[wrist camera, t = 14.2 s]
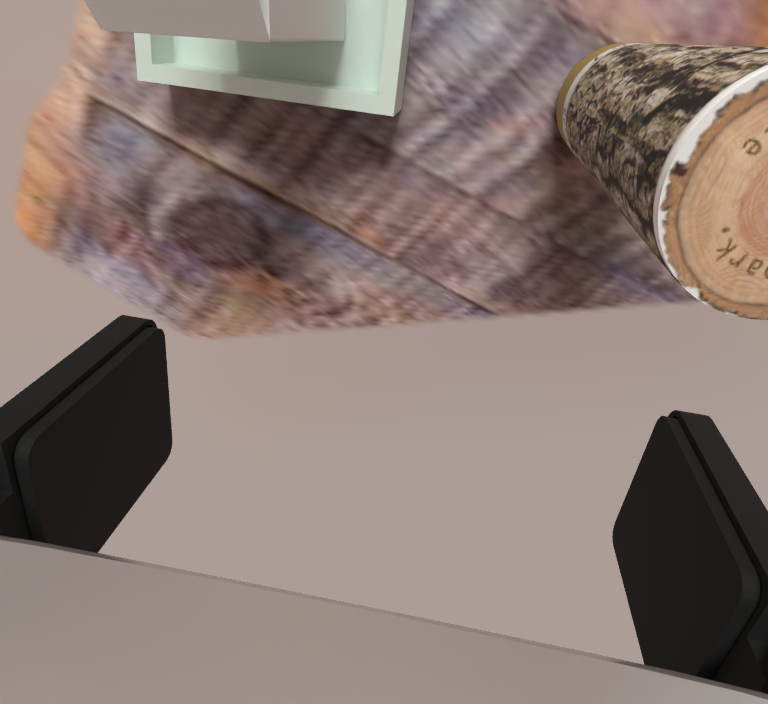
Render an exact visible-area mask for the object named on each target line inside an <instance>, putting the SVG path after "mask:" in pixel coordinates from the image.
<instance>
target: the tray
mask: <svg viewBox="0 0 768 704" xmlns="http://www.w3.org/2000/svg"><path fill="white" fill-rule="evenodd" d="M413 8H414V0H346V5H345V38H344V40H343V41H301V42H252V41H238V40H224V39H211V38H198V37H184V36H171V35H158V34H144V33H134V39H135V52H136V65H137V78H138V80H141V81H148V82H155V83H162V84H169V85H176V86H183V87H190V88H197V89H204V90H211V91H218V92H225V93H232V94H239V95H246V96H253V97H260V98H267V99H274V100H281V101H288V102H295V103H302V104H309V105H316V106H323V107H330V108H337V109H344V110H351V111H358V112H366V113H373V114H380V115H387V116H395V115H396V114H397V113H398V112H399V111H400V110H401V108H402V100H403V91H404V83H405V75H406V66H407V58H408V50H409V41H410V33H411V25H412V17H413Z"/></svg>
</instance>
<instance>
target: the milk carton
mask: <svg viewBox="0 0 768 704" xmlns="http://www.w3.org/2000/svg"><path fill="white" fill-rule="evenodd" d="M85 2H86V4H87V6H88V7H89V9H90V11H91V13H92V14H93V16H94V18H95V20H96V22H97V23H98V25H99V27H100V28H101V29H103V30H109V31H118V32H131V33H144V34H158V35H171V36H184V37H198V38H211V39H224V40H238V41H252V42H301V41H343V40H344V38H345V5H346V0H85Z"/></svg>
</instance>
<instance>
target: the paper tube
mask: <svg viewBox="0 0 768 704" xmlns="http://www.w3.org/2000/svg"><path fill="white" fill-rule="evenodd" d="M556 117H557V124H558V128H559V131H560V134H561V136H562V138H563V140H564V141H565V143H566V144H567V145H568V147H569V148H570V149H571V151H572V152H573V153H574V155H576V157H577V158H578V160H579V161H580V162H581V163H582V165H583V166H584V167H585V168H586V170H587V171H588V172H589V173H590V175H591V176H592V177H593V178H594V179H595V181H596V182H597V183H598V184H599V186H600V187H601V188H602V189H603V191H604V192H605V193H606V194H607V196H608V197H609V198H610V199H611V200H612V202H613V203H614V204H615V205H616V207H617V208H618V209H619V210H620V212H621V213H622V214H623V215H624V217H625V218H626V219H627V220H628V222H629V223H630V224H631V225H632V226H633V228H634V229H635V230H636V231H637V233H638V234H639V235H640V236H641V238H642V239H643V240H644V241H645V243H646V244H647V245H648V246H649V247H650V249H651V250H652V251H653V252H654V254H655V255H656V256H657V257H658V259H659V260H660V261H661V262H662V264H663V265H664V266H665V267H666V268H667V270H668V271H669V272H670V273H671V275H672V276H673V277H674V278H675V279H676V280H677V281H678V282H679V284H681V285H682V286H683V287H684V288H685V289H686V290H687V291H688V292H689V293H690V294H692V295H693V296H694V297H695V298H697V299H698V300H700V301H701V302H703V303H704V304H706V305H708V306H710V307H712V308H714V309H716V310H719V311H721V312H724V313H727V314H730V315H734V316H738V317H744V318H749V319H760V320H768V47H748V46H713V45H678V44H644V43H633V44H627V43H621V44H613V45H608V46H605V47H602V48H600V49H597V50H595V51H594V52H592V53H590V54H589V55H587V56H586V57H584V58H583V59H582V60H581V61H580V62H579V63H578V64H577V65H576V66H575V67H574V68H573V69H572V70H571V72H570V73H569V74H568V76H567V78H566V79H565V81H564V83H563V85H562V87H561V90H560V93H559V96H558V100H557V107H556Z"/></svg>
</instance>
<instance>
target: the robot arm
mask: <svg viewBox="0 0 768 704" xmlns="http://www.w3.org/2000/svg"><path fill="white" fill-rule="evenodd" d="M171 448H172V430H171V418H170V403H169V388H168V375H167V360H166V347H165V335H164V332H163V330H161V329H158V328H157V326H156V324H155V322H154V321H153V320H148V319H143V318H137V317H132V316H126V315H122V316H120V317H118V318H117V319H115V320H114V321H113V322H111V323H110V324H109V325H108V326H106V327H105V328H104V329H102V330H101V331H100V332H98V333H97V334H96V335H95V336H93V337H92V338H90V339H89V340H88V341H87V342H85V343H84V344H83V345H81V346H80V347H79V348H78V349H76V350H75V351H74V352H72V353H71V354H70V355H68V356H67V357H66V358H64V359H63V360H62V361H61V362H59V363H58V364H57V365H56V366H54V367H53V368H51V369H50V370H49V371H47V372H46V373H45V374H44V375H43V376H41V377H40V378H38V379H37V380H36V381H35V382H33V383H32V384H31V385H29V386H28V387H27V388H25V389H24V390H23V391H21V392H20V393H19V394H18V395H16V396H15V397H14V398H12V399H11V400H10V401H8V402H7V403H6V404H5V405H3V406H2V407H1V408H0V704H768V511H767V509H766V508H765V506H764V504H763V503H762V501H761V499H760V498H759V496H758V495H757V493H756V491H755V490H754V488H753V486H752V485H751V483H750V482H749V480H748V478H747V476H746V475H745V473H744V471H743V470H742V468H741V467H740V465H739V463H738V462H737V460H736V458H735V457H734V455H733V453H732V452H731V450H730V448H729V447H728V445H727V443H726V442H725V440H724V439H723V437H722V435H721V434H720V432H719V430H718V429H717V427H716V425H715V424H714V422H713V420H712V419H711V418H710V417H709V416H706V415H700V414H694V413H689V412H683V411H677V410H675V411H672V412H671V413H670V414H669V416H668V417H665V416H661V417H660V418H659V419H658V420H657V422H656V424H655V427H654V429H653V432H652V434H651V437H650V439H649V442H648V444H647V446H646V449H645V451H644V454H643V456H642V459H641V461H640V463H639V466H638V469H637V471H636V473H635V476H634V478H633V480H632V483H631V485H630V488H629V490H628V493H627V495H626V498H625V500H624V502H623V505H622V507H621V510H620V512H619V514H618V517H617V519H616V522H615V525H614V528H613V546H614V549H615V553H616V557H617V561H618V565H619V569H620V573H621V576H622V580H623V584H624V588H625V592H626V595H627V599H628V603H629V607H630V611H631V614H632V618H633V622H634V626H635V629H636V634H637V637H638V641H639V645H640V649H641V653H642V656H643V660H644V664H645V665H642V664H638V663H633V662H629V661H624V660H620V659H615V658H610V657H606V656H602V655H597V654H592V653H587V652H583V651H578V650H573V649H568V648H564V647H558V646H554V645H549V644H544V643H540V642H535V641H530V640H525V639H521V638H516V637H511V636H506V635H501V634H497V633H492V632H487V631H482V630H477V629H473V628H468V627H463V626H458V625H454V624H449V623H444V622H439V621H434V620H429V619H424V618H419V617H415V616H410V615H404V614H400V613H395V612H390V611H385V610H380V609H375V608H370V607H365V606H361V605H355V604H351V603H346V602H341V601H336V600H331V599H326V598H321V597H316V596H311V595H306V594H302V593H296V592H292V591H286V590H282V589H277V588H272V587H267V586H262V585H257V584H252V583H247V582H241V581H237V580H232V579H227V578H222V577H217V576H212V575H206V574H201V573H196V572H191V571H186V570H181V569H176V568H171V567H166V566H161V565H156V564H151V563H145V562H140V561H135V560H130V559H125V558H120V557H115V556H110V555H105V554H100V553H98V552H99V550H100V549H101V548H102V546H103V545H104V544H105V542H106V541H107V539H108V538H109V537H110V536H111V534H112V533H113V532H114V530H115V529H116V527H117V526H118V524H119V523H120V522H121V521H122V519H123V518H124V517H125V515H126V514H127V513H128V511H129V510H130V509H131V507H132V506H133V505H134V503H135V502H136V501H137V499H138V498H139V497H140V495H141V494H142V493H143V491H144V490H145V488H146V487H147V486H148V485H149V483H150V482H151V481H152V479H153V478H154V477H155V475H156V474H157V472H158V471H159V470H160V468H161V467H162V465H163V464H164V463H165V462H166V460H167V458H168V456H169V454H170V452H171Z"/></svg>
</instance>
